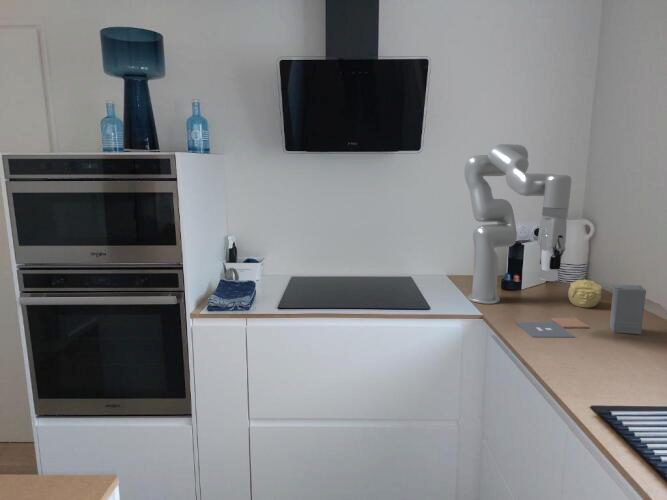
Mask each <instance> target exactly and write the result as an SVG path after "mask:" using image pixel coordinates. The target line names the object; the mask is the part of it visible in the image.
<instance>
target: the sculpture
mask: <svg viewBox="0 0 667 500" xmlns="http://www.w3.org/2000/svg"><path fill="white" fill-rule="evenodd" d="M602 289H603V286H602V285H600V284H599V283H597V282H595V281H594V280H589V279H577V280H575V281H574V282H570V283H569V288H568V292H567V293H568V294H567V295H568V299H569V301H570V303H571V304H572V305H573V306H576V307H579V308H585V309H587V308H588V309H589V308H590V309H591V308H594V307H596V306H597V305H598V304H599V302H600V301H601V297H602Z"/></svg>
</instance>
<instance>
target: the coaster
mask: <svg viewBox="0 0 667 500" xmlns="http://www.w3.org/2000/svg"><path fill="white" fill-rule="evenodd" d="M550 320H551V322H555V323H556V324H558V325H559V326H560V327H562V328H563V329H590V326H589V325H588V324H586V323H585V322H582V321H581V320H579V319H578V318H577V317H550Z"/></svg>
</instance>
